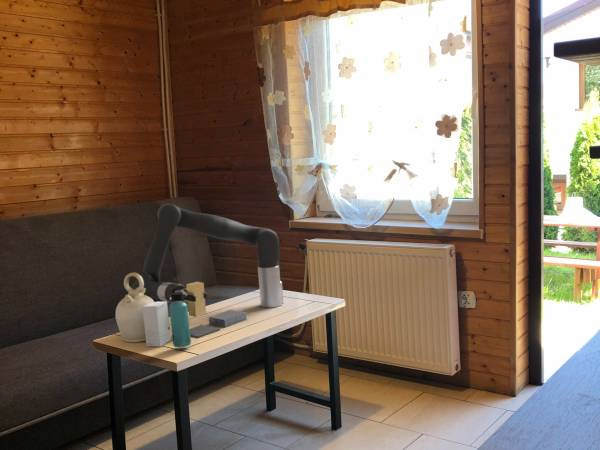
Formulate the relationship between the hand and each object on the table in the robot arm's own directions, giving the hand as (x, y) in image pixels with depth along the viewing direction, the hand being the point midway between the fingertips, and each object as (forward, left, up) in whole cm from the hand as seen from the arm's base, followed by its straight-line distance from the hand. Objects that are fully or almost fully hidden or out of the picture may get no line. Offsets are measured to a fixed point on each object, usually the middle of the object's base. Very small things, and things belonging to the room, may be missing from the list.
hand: (200, 297), depth 242 cm
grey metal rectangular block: (-15, -3, -14) cm, 21 cm away
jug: (+16, -19, -14) cm, 28 cm away
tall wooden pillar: (0, -3, -7) cm, 7 cm away
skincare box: (+17, -6, -14) cm, 23 cm away
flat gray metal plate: (0, -3, -14) cm, 14 cm away
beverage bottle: (+17, +7, -14) cm, 23 cm away
